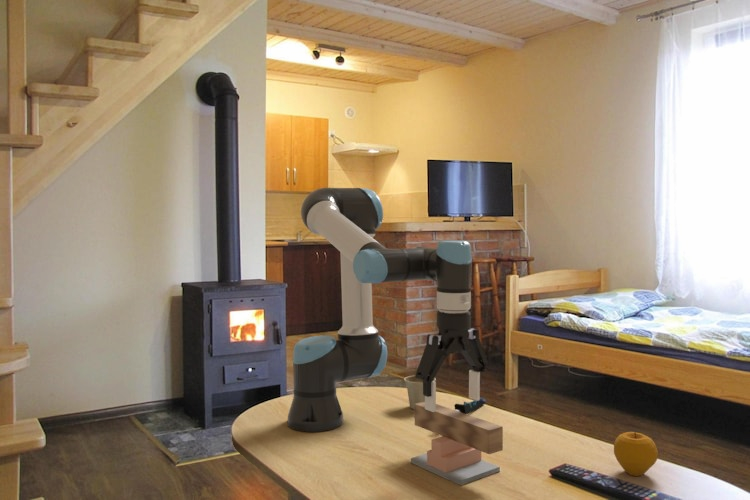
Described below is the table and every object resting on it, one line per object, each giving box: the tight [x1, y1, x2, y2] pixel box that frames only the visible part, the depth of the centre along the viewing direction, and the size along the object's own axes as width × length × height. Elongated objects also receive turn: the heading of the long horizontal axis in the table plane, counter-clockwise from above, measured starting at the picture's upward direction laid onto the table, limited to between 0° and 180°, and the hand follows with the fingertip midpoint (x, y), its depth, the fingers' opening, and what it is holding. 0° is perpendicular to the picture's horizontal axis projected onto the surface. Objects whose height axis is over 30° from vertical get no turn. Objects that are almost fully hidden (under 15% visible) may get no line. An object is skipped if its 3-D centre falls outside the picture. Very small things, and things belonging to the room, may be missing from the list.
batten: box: [414, 402, 504, 455], centre depth 140 cm, size 24×4×5 cm, turn 36°
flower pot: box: [403, 375, 437, 411], centre depth 186 cm, size 9×9×9 cm
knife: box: [454, 397, 487, 415], centre depth 177 cm, size 31×3×4 cm, turn 145°
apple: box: [613, 431, 659, 477], centre depth 136 cm, size 9×9×9 cm
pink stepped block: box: [410, 435, 501, 486], centre depth 141 cm, size 16×12×7 cm
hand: (452, 404), depth 141 cm, fingers open, 13 cm apart
